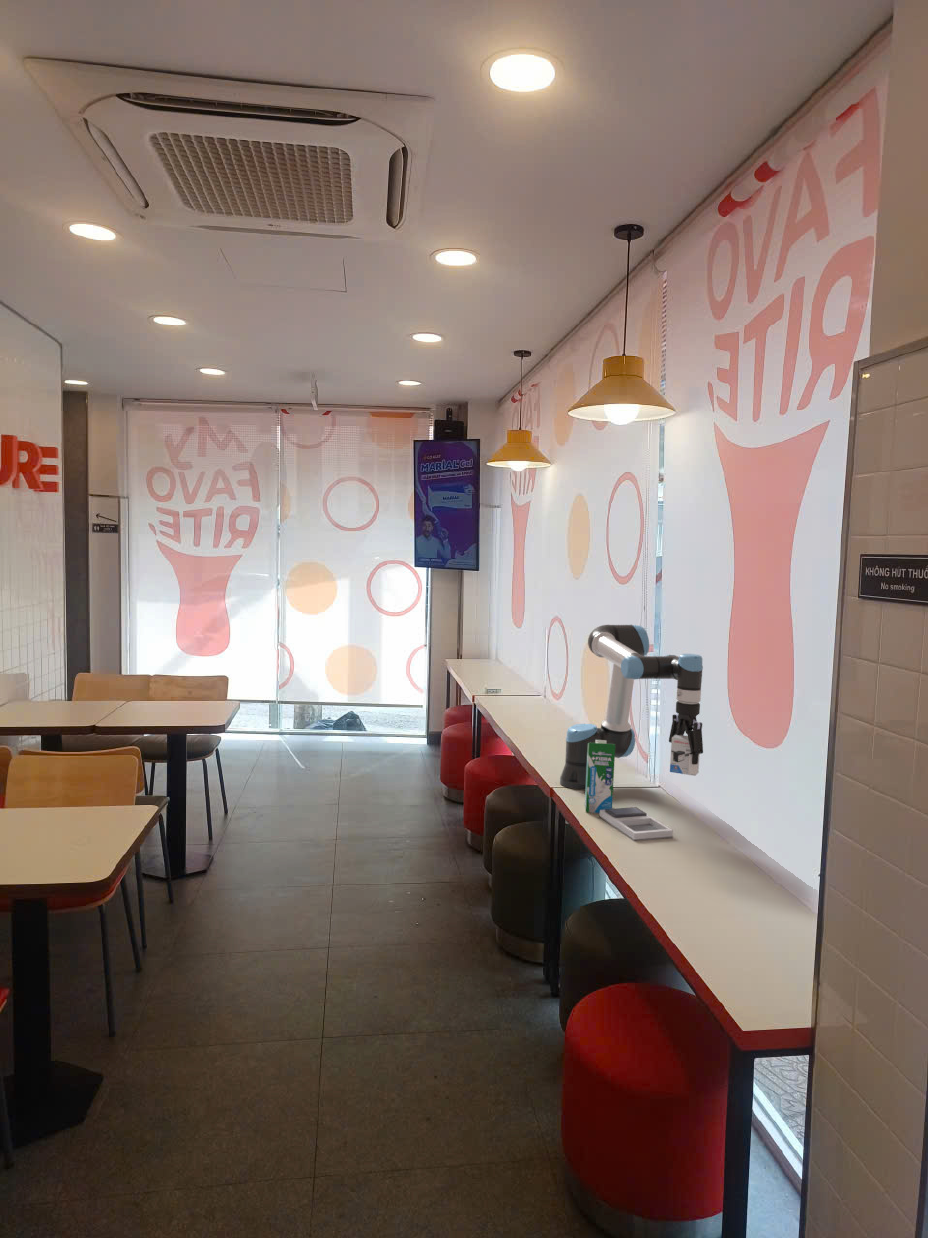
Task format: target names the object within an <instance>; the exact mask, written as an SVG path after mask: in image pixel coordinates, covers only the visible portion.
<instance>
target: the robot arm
mask: <svg viewBox="0 0 928 1238" xmlns="http://www.w3.org/2000/svg"><path fill="white" fill-rule="evenodd" d="M587 646H588V648H589V650H590V652H591V653H593V654H594V655H595V656H596V657H598V658H605V659H606V660H607V661H609V662H611V663H612V671H611V672H612V673H611V678H610V679H611V681H610V688H609V695H608V700H607V701H608V703H607V709H606V716H605V718H604V719H603V720H602V721H601V724H600V727H597V725H596V724H592V723H578V724H573V725H571V726H570V727H568V729H567V730H566V737H565V763H564V766H563V769H562V771H561V774H560V778H559V783H560V785H561V786H563V787H565V788H569V789H574V790H585V788H586V767H587V746H588V743H595V741H596V740H606V741H607V742H606V744H615V759H616V758H617V759H620V758H627V757H629V756H630V755H631V754H632V753H633V751H634V748H635V745H636V738H635V737H636V735H635V731H634V730H633V728H632V725H631V724H630V722H629V719H630V718H629V717H630V710H631V703H632V696H633V689H634V682H635V680H650V679H651V680H661V679H662V680H669V679H672V680H675V681H676V682H677V685H676V700H677V701H676V703H675V712H676V713H677V714H672V715H671V716H672V722H671V727H670V732H669V737H668V742H669V743H671V742H672V737H673V736H674V735H684V736H685V734H686V736H688V740H689V744H690V749H691V753H689V768H688V774H696V775H698V774H697V764H698V755H699V754H700V755H702V754H704V746H703V745H704V744H703V743H704V742H703V730H702V729H703V722H698V721H697V716H698V715H700V712H701V711H700V709H701V704H700V702H701V699H702V698H701V697H702V682H703V680H702V679H703V669H704V667H703V657H702V656H701V654H695V653H682V654H680V655H679V656H677V655H675V654H674V655H673V654H666V655H664V656H663V655H662V656H658V655H657V656H656V655H654V656H653V655H652V656H648V653H649V651H650V640H649V635H648V632H647V631H646V629H645V628H644V627H643V626H641V625H637V624H636V625H635V624H603V625H599V626H597V627H595V628H594V629H593V630H592V631H591V632H590V634H589V635H588V639H587ZM646 655H647V656H646ZM699 749H700V750H699ZM700 755H699V756H700Z"/></svg>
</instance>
